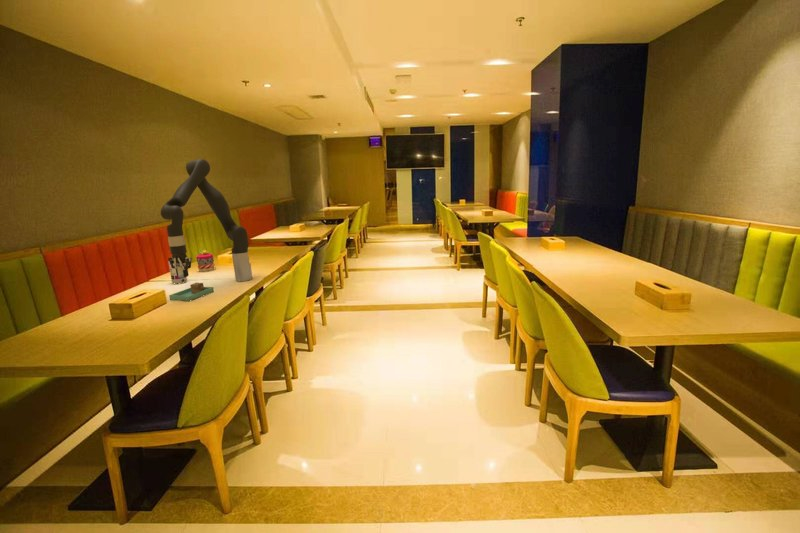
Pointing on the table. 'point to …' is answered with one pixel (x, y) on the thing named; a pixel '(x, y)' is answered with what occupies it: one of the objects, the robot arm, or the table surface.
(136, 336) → the table surface
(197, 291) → the walnut block
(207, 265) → the cake
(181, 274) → the metal peg
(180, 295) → the tray
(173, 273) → the supplement can
